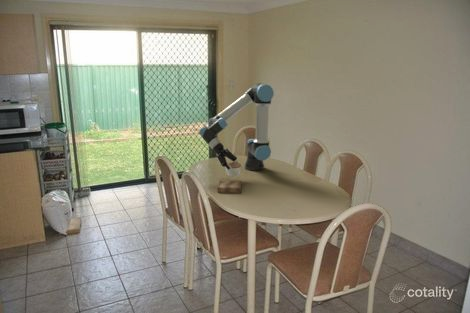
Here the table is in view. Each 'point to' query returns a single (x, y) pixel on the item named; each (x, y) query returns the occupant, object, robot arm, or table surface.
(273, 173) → the table surface
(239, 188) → the base
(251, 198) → the table surface
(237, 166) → the lidded jar
